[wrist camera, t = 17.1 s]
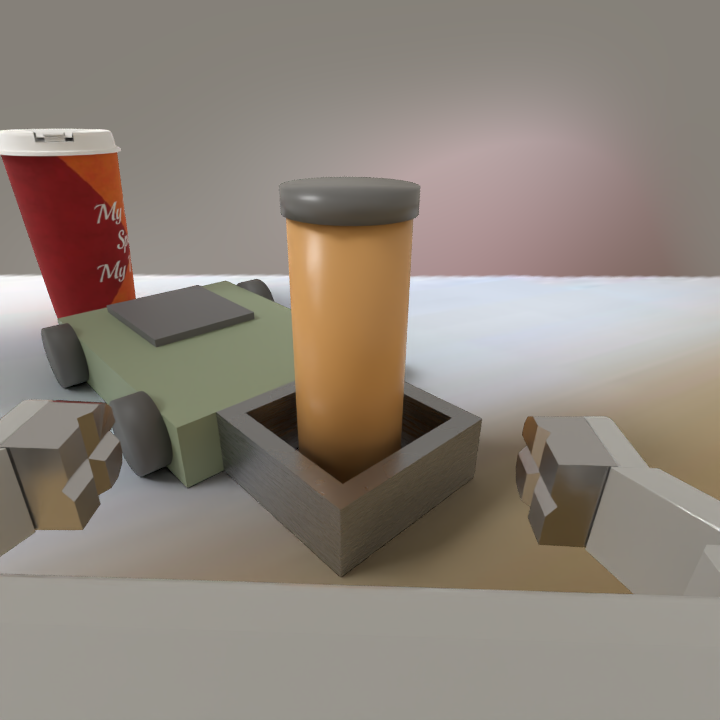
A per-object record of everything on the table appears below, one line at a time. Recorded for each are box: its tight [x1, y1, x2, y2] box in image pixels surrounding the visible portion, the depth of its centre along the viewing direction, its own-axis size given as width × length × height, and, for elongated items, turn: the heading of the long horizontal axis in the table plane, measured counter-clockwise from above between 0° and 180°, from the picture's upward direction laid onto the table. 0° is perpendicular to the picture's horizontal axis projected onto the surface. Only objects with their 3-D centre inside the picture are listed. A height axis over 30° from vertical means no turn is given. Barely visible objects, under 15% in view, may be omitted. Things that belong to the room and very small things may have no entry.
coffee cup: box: [0, 129, 136, 318], centre depth 40 cm, size 8×8×15 cm
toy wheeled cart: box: [41, 279, 295, 488], centre depth 34 cm, size 18×16×4 cm
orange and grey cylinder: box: [279, 177, 420, 484], centre depth 23 cm, size 5×5×14 cm
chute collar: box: [216, 381, 482, 577], centre depth 25 cm, size 9×9×4 cm
